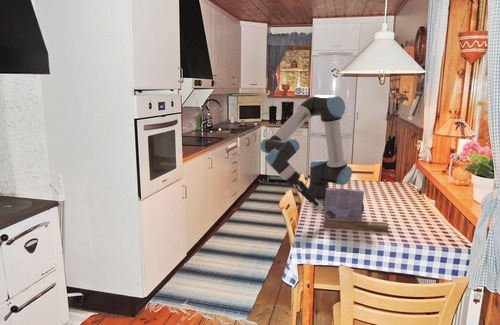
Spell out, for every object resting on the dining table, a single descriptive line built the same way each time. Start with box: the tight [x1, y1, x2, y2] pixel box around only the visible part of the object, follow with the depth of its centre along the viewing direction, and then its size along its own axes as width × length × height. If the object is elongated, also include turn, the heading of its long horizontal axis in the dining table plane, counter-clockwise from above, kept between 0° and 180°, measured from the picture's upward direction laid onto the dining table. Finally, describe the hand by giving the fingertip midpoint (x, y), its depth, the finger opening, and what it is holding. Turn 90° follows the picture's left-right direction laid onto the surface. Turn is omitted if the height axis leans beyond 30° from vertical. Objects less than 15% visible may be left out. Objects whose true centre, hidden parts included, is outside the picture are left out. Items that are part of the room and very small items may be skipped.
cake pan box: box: [323, 187, 365, 221], centre depth 186 cm, size 19×5×18 cm, turn 82°
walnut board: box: [322, 217, 389, 233], centre depth 182 cm, size 5×30×3 cm, turn 80°
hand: (322, 209), depth 188 cm, fingers closed
